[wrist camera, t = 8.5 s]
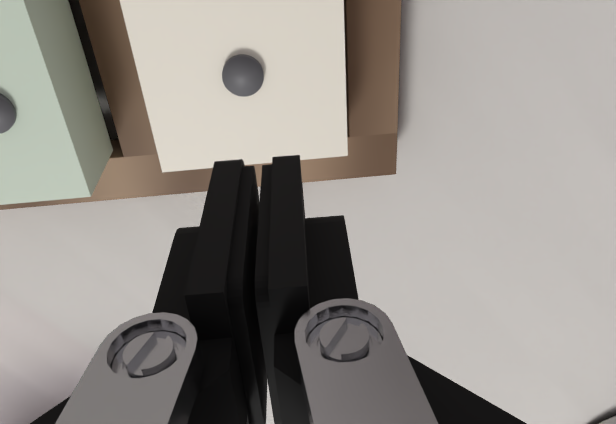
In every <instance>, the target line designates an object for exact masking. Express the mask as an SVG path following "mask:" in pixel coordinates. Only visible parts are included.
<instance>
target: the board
mask: <svg viewBox="0 0 616 424" xmlns="http://www.w3.org/2000/svg"><path fill="white" fill-rule="evenodd" d="M79 3H80V7H81V10H82V14H83V17H84V21H85V24H86V28H87V31H88V34H89V38H90V41H91V45H92V48H93V52H94V55H95V59H96V62H97V66H98V69H99V73H100V76H101V79H102V83H103V86H104V90H105V93H106V97H107V100H108V104H109V107H110V111H111V114H112V118H113V121H114V124H115V128H116V131H117V135H118V138H119V139H115V140H110V142H111V145H112V148H113V152H112V154H111V156H110V158H109V160H108V162H107V164H106V166H105V168H104V171H103V173H102V175H101V177H100V179H99V181H98V183H97V185H96V187H95V189H94V191H93V193H92V196H91V197H83V198H72V199H61V200H49V201H38V202H27V203H16V204H5V205H0V210H3V209H14V208H25V207H36V206H47V205H58V204H69V203H81V202H92V201H103V200H114V199H125V198H136V197H147V196H158V195H169V194H181V193H192V192H203V191H208V187H209V183H210V179H211V174H212V170H213V168H206V169H195V170H184V171H172V172H162V169H161V165H160V161H159V157H158V153H157V149H156V145H155V141H154V137H153V133H152V129H151V125H150V121H149V117H148V113H147V109H146V105H145V101H144V97H143V93H142V89H141V85H140V81H139V77H138V73H137V69H136V65H135V61H134V57H133V53H132V48H131V44H130V40H129V36H128V32H127V28H126V24H125V20H124V16H123V12H122V8H121V4H120V0H79ZM400 27H401V0H344V32H345V69H346V107H347V144H348V156H341V157H329V158H318V159H307V160H300V163H301V175H302V183H303V182H314V181H325V180H336V179H347V178H358V177H369V176H381V175H392V174H396V158H397V125H398V93H399V60H400ZM268 164H272V163H262V164H251V165H245V166H254V167H255V172H256V180H257V187H258V186H261V175H262V165H268Z"/></svg>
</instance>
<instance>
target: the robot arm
mask: <svg viewBox="0 0 616 424" xmlns="http://www.w3.org/2000/svg"><path fill="white" fill-rule="evenodd" d="M267 379H268V385H269V392H270V398H271V405H272V411H273V417H274V423H275V424H526V423H525V422H523V421H521V420H519V419H518V418H516V417H514V416H512V415H511V414H509V413H507V412H505V411H504V410H502V409H500V408H498V407H497V406H495V405H493V404H491V403H490V402H488V401H486V400H484V399H483V398H481V397H479V396H478V395H476V394H474V393H472V392H471V391H469V390H467V389H465V388H464V387H462V386H460V385H458V384H457V383H455V382H453V381H451V380H450V379H448V378H446V377H444V376H443V375H441V374H439V373H437V372H436V371H434V370H432V369H430V368H429V367H427V366H425V365H423V364H422V363H420V362H418V361H416V360H415V359H413V358H411V357H409V356H408V355H407V354H406V352H405V350H404V348H403V345H402V343H401V341H400V339H399V337H398V334H397V332H396V330H395V328H394V326H393V323H392V322H391V320H390V319H389V318H388V316H387V315H386V313H384V312H383V311H382V310H380V309H379V308H378V307H376V306H375V305H373V304H370V303H367V302H365V301H362V300H358V294H357V288H356V282H355V277H354V271H353V265H352V259H351V254H350V248H349V242H348V236H347V230H346V225H345V219H344V216H330V217H317V218H305V211H304V199H303V187H302V175H301V163H300V155H291V156H278V157H272V164H268V165H262V175H261V190H260V202H259V195H258V187H257V180H256V172H255V167H254V166H245V165H244V161H243V159H239V160H226V161H215V162H214V165H213V170H212V174H211V179H210V183H209V187H208V192H207V196H206V201H205V205H204V210H203V214H202V218H201V223H200V227H187V228H179V229H177V231H176V233H175V236H174V240H173V243H172V247H171V250H170V253H169V257H168V260H167V264H166V267H165V271H164V274H163V278H162V281H161V285H160V288H159V292H158V295H157V299H156V302H155V306H154V309H153V313H149V314H145V315H142V316H138V317H135V318H133V319H131V320H129V321H127V322H125V323H123V324H121V325H119V326H118V327H117V328H116V329H114V330H113V331H112V332H111V333H109V334H108V335H107V337H106V338H105V339H104V341H103V342H102V343H101V344H100V346H99V348H98V349H97V351H96V353H95V355H94V356H93V358H92V360H91V362H90V363H89V365H88V367H87V369H86V370H85V372H84V374H83V376H82V377H81V379H80V381H79V383H78V384H77V386H76V388H75V390H74V391H73V393H72V395H71V396H70V397H68V398H67V399H66V400H64V401H63V402H61V403H60V404H58V405H57V406H55V407H54V408H52V409H51V410H49V411H48V412H46V413H45V414H43V415H42V416H40V417H39V418H38V419H36V420H35V421H33V422H32V423H30V424H266V405H267ZM598 424H616V415H615V416H613V417H611V418H608V419H606V420H604V421H602V422H600V423H598Z"/></svg>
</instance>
